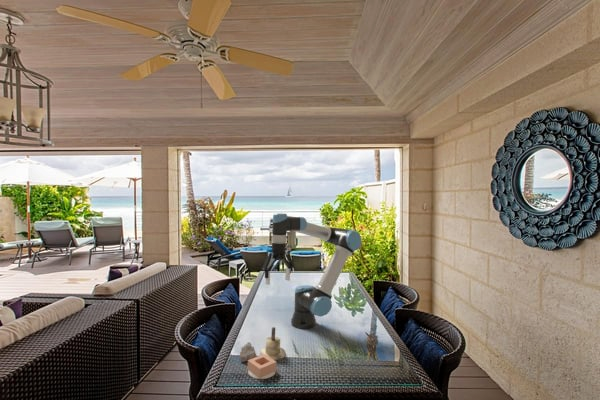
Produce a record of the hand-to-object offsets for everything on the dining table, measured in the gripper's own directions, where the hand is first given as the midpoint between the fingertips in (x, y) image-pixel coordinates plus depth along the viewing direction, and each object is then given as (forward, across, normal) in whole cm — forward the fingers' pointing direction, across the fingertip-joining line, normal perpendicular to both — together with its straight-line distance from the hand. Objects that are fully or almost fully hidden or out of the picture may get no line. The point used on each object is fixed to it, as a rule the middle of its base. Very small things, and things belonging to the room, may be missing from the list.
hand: (277, 282), depth 170 cm
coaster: (+32, +23, +19) cm, 44 cm away
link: (+31, +23, +19) cm, 43 cm away
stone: (+32, +21, +5) cm, 39 cm away
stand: (+32, +10, +10) cm, 35 cm away
